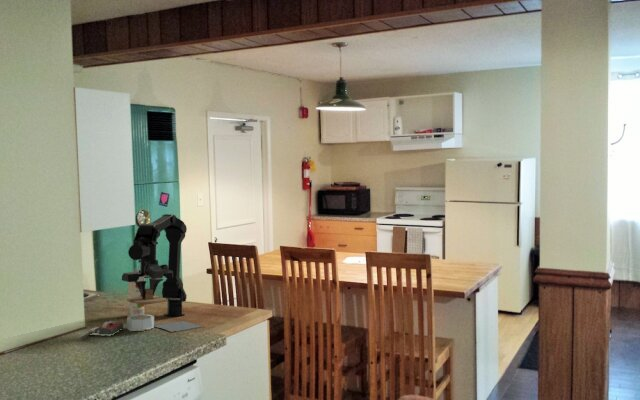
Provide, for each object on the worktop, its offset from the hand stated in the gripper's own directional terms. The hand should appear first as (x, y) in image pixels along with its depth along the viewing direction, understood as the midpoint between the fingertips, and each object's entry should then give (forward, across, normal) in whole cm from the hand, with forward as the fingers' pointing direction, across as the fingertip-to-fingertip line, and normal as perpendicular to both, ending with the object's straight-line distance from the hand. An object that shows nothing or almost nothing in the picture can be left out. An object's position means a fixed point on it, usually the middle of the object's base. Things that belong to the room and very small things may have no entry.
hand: (147, 297), depth 218 cm
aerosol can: (+12, +7, +23) cm, 27 cm away
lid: (+1, 0, 0) cm, 1 cm away
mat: (+12, +10, -6) cm, 16 cm away
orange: (+9, -2, +1) cm, 10 cm away
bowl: (+12, -2, +1) cm, 12 cm away
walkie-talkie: (+12, -17, +2) cm, 21 cm away
